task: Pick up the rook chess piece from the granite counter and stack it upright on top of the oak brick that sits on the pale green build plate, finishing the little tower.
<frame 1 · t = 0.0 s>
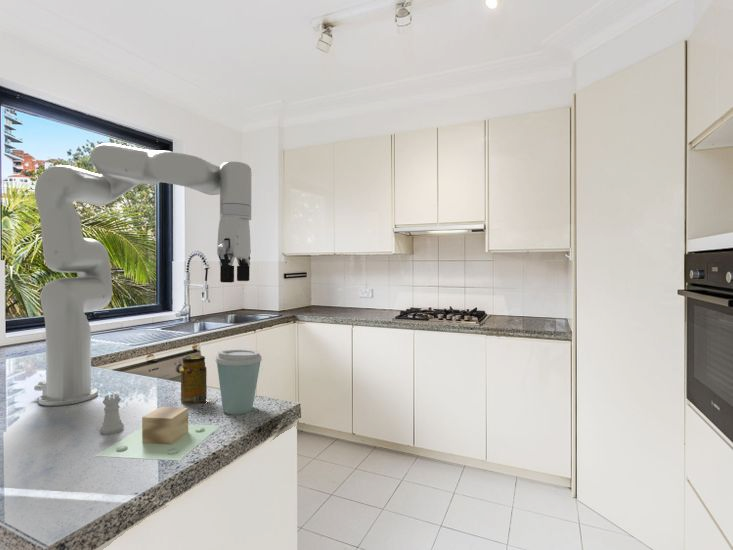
hand: (235, 281, 102), 31 cm above the countertop, tool pointing down, fingers open, 9 cm apart
build plate: (163, 443, 81), on the countertop
rook chess piece: (111, 435, 85), on the countertop
disposable coffee cup: (238, 413, 98), on the countertop
oak brick: (166, 437, 82), point 1 cm above the countertop, touching build plate
condiment: (197, 404, 104), on the countertop
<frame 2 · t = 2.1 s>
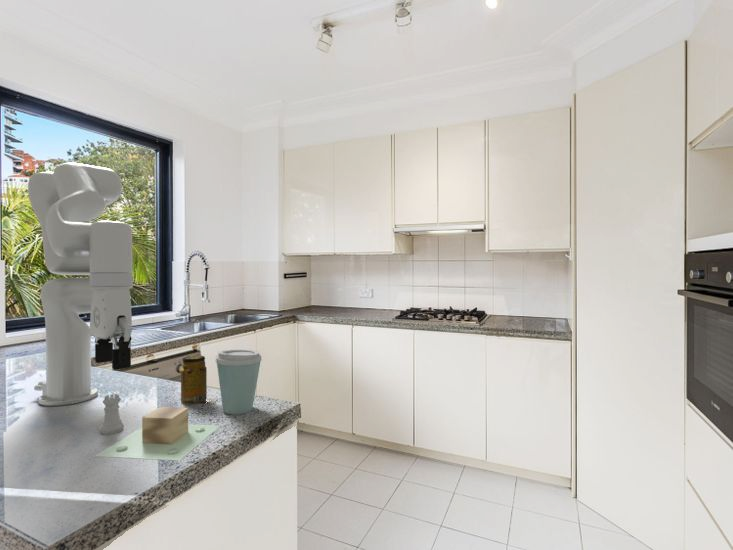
hand: (112, 365, 84), 15 cm above the countertop, tool pointing down, fingers open, 9 cm apart
nothing on the countertop moved.
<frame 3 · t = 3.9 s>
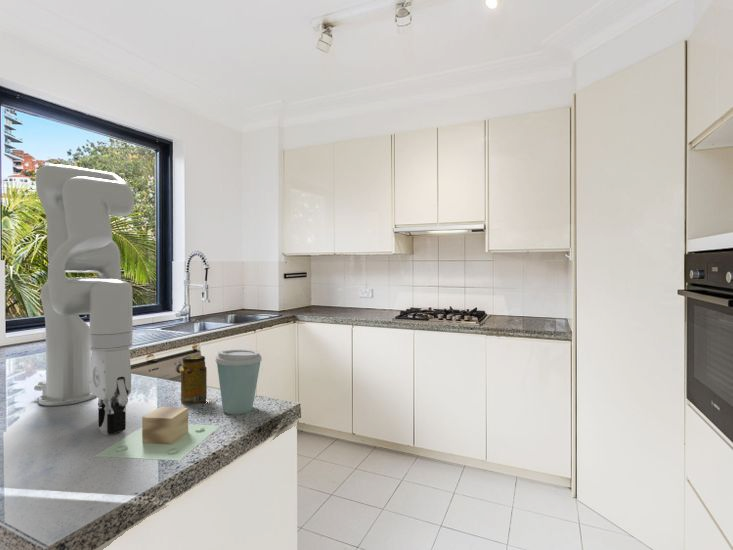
hand: (111, 427, 85), 1 cm above the countertop, tool pointing down, fingers closed on rook chess piece, 4 cm apart
rook chess piece: (111, 435, 85), on the countertop, touching gripper
everything else where it was.
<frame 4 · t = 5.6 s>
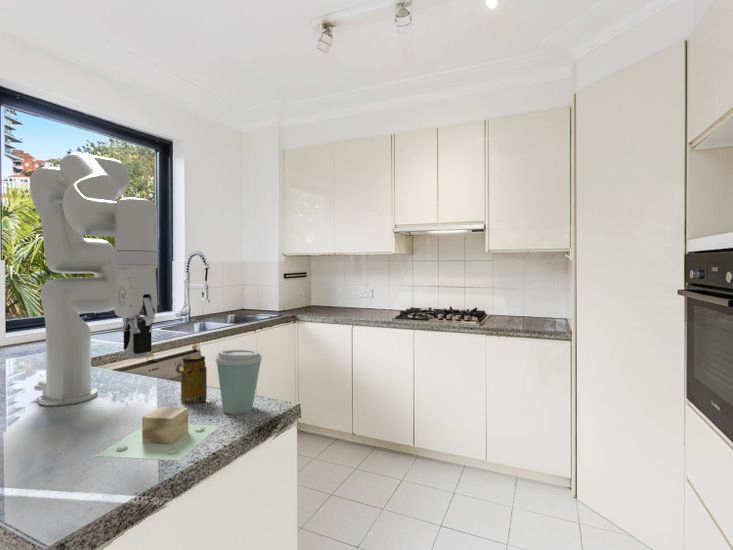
hand: (137, 350, 83), 18 cm above the countertop, tool pointing down, fingers closed on rook chess piece, 4 cm apart
rook chess piece: (137, 357, 83), point 16 cm above the countertop, touching gripper
everything else where it was.
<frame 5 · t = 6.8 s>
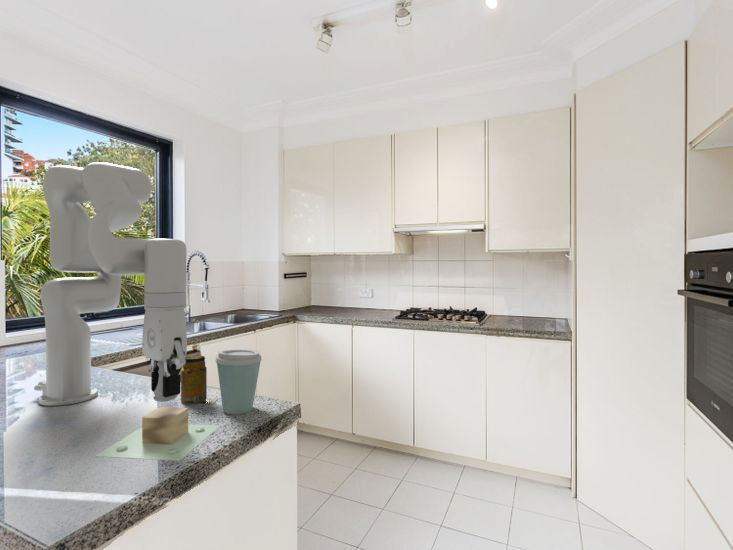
hand: (165, 391, 82), 10 cm above the countertop, tool pointing down, fingers closed on rook chess piece, 4 cm apart
rook chess piece: (165, 399, 82), point 8 cm above the countertop, touching gripper
everything else where it was.
when the fingers open (7 cm above the countertop, at t = 7.6 s): rook chess piece stays where it is, resting on oak brick.
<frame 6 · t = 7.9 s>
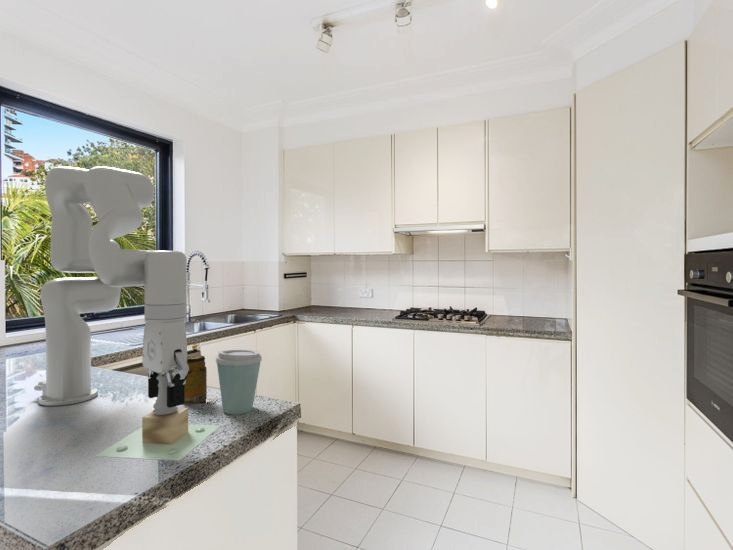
hand: (166, 400, 81), 8 cm above the countertop, tool pointing down, fingers open, 7 cm apart
rook chess piece: (165, 413, 82), point 6 cm above the countertop, touching oak brick
oak brick: (166, 437, 82), point 1 cm above the countertop, touching build plate, rook chess piece
everything else where it was.
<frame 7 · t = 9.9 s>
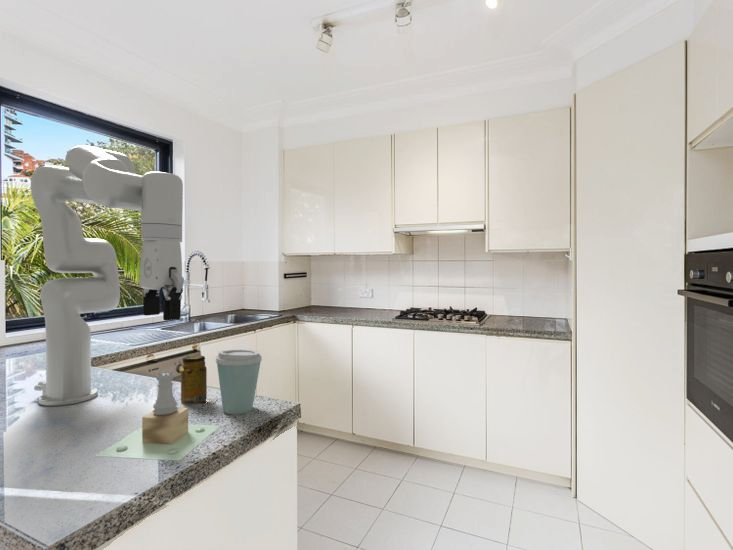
hand: (161, 317, 84), 24 cm above the countertop, tool pointing down, fingers open, 9 cm apart
nothing on the countertop moved.
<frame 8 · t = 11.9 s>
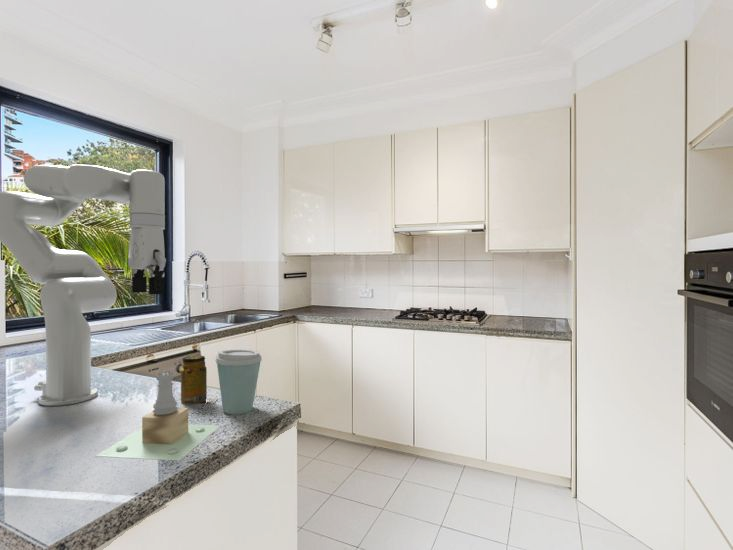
hand: (147, 293, 99), 28 cm above the countertop, tool pointing down, fingers open, 9 cm apart
nothing on the countertop moved.
at the end: rook chess piece 0.2 cm off-centre on the oak brick, point 4.8 cm above the oak brick's base; rook chess piece tilted 0°; oak brick moved 0.1 cm from its start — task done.
